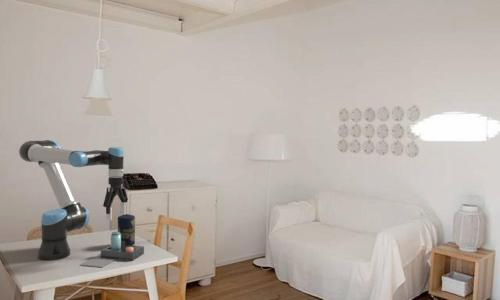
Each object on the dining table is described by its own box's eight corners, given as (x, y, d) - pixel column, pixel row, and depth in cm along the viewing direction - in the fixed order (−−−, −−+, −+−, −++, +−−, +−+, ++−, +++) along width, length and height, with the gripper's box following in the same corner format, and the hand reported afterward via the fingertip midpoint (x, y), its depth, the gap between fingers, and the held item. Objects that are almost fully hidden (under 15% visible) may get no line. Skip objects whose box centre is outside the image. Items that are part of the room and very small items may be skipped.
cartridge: (109, 256, 211) (109, 233, 211) (114, 253, 216) (114, 231, 216) (117, 257, 210) (117, 234, 210) (122, 254, 215) (122, 231, 215)
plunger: (124, 256, 208) (124, 248, 208) (128, 254, 212) (128, 246, 212) (131, 257, 207) (131, 249, 207) (135, 254, 211) (135, 247, 211)
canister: (129, 248, 226) (129, 216, 225) (114, 246, 228) (114, 215, 227) (137, 243, 235) (138, 213, 235) (123, 242, 237) (123, 212, 236)
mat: (80, 265, 196) (80, 264, 196) (94, 257, 208) (94, 257, 208) (102, 267, 194) (102, 266, 194) (115, 259, 206) (115, 259, 206)
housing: (100, 257, 208) (100, 250, 208) (113, 251, 220) (113, 243, 220) (132, 260, 205) (132, 253, 204) (143, 253, 216) (143, 246, 216)
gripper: (109, 179, 198) (109, 222, 199) (134, 174, 223) (134, 212, 224) (95, 179, 200) (95, 221, 201) (121, 174, 224) (121, 212, 225)
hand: (116, 217), depth 212 cm, fingers open, 13 cm apart
